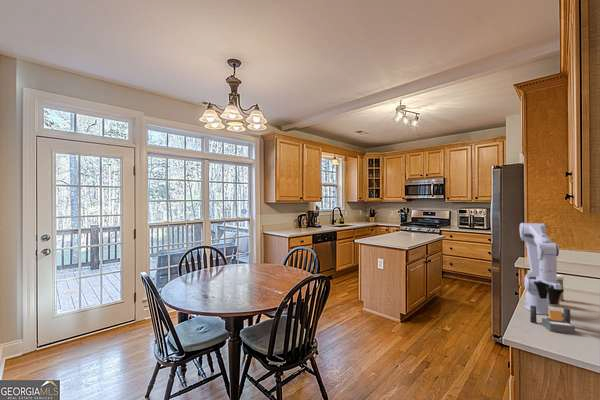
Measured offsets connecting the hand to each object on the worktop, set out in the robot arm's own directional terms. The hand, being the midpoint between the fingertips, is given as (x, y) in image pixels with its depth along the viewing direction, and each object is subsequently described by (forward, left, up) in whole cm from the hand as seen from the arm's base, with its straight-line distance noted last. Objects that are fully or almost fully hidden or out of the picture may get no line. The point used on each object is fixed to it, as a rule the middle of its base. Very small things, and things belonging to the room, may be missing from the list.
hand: (548, 301), depth 120 cm
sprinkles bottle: (-38, +23, -10) cm, 46 cm away
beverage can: (-28, +15, -10) cm, 33 cm away
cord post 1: (+1, -6, -9) cm, 11 cm away
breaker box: (+7, 0, -9) cm, 12 cm away
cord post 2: (+1, +6, -9) cm, 11 cm away
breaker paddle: (+6, 0, -6) cm, 8 cm away
